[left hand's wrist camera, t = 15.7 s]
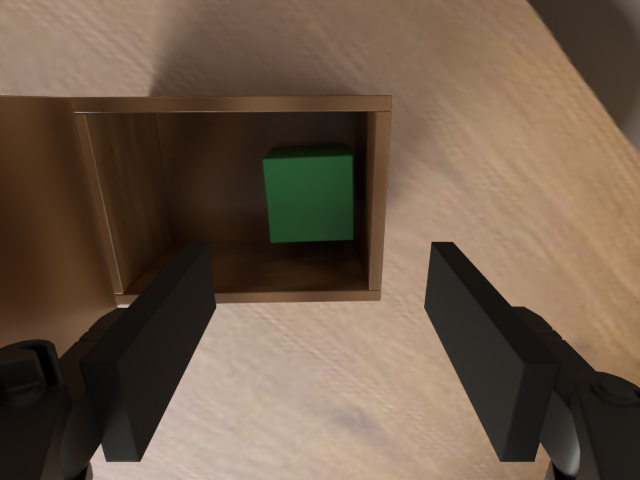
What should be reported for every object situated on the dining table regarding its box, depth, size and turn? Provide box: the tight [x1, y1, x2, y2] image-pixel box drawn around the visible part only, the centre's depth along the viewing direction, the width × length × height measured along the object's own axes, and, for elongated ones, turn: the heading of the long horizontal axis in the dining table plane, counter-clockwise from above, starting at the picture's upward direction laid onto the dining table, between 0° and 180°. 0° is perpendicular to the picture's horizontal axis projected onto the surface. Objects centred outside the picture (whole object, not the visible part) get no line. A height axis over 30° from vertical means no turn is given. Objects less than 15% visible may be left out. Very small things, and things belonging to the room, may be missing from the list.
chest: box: [70, 95, 392, 305], centre depth 26 cm, size 16×12×10 cm
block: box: [262, 144, 354, 243], centre depth 26 cm, size 6×6×6 cm
